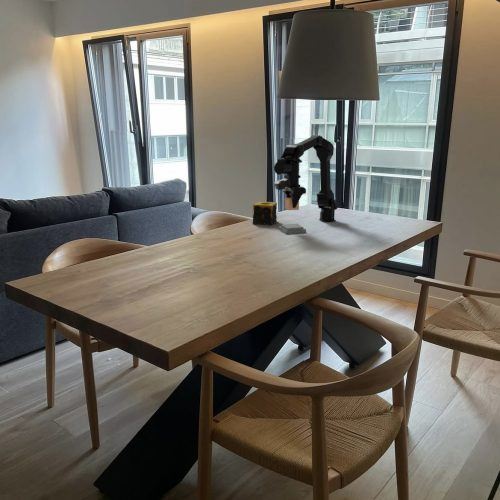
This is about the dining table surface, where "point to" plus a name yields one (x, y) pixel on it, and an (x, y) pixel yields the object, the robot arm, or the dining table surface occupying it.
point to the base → (291, 228)
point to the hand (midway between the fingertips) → (292, 206)
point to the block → (290, 204)
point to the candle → (264, 213)
